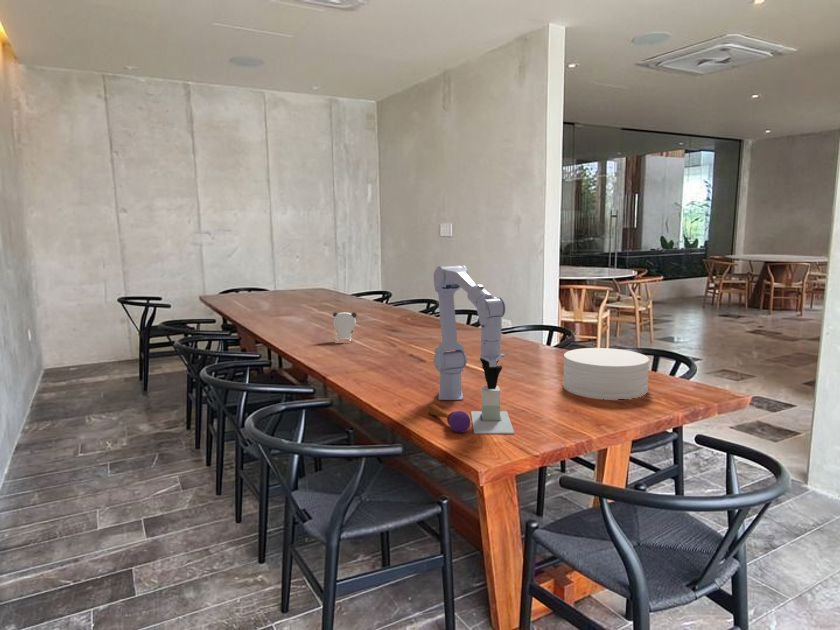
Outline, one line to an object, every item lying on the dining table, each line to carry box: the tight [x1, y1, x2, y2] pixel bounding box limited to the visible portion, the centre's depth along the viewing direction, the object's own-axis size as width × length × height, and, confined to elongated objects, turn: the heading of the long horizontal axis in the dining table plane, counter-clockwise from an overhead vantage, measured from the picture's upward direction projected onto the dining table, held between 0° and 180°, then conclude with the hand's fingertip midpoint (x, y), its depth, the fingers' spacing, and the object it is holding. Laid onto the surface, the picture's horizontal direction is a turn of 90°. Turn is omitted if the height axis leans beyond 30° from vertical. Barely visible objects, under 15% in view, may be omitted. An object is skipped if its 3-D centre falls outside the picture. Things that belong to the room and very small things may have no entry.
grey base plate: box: [470, 410, 515, 435], centre depth 162 cm, size 18×11×1 cm, turn 178°
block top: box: [481, 385, 501, 407], centre depth 164 cm, size 5×5×4 cm
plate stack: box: [562, 347, 650, 401], centre depth 194 cm, size 28×28×12 cm
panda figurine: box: [332, 311, 358, 341], centre depth 281 cm, size 12×11×15 cm
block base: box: [481, 403, 501, 421], centre depth 164 cm, size 5×5×4 cm
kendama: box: [426, 403, 471, 434], centre depth 161 cm, size 6×6×20 cm
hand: (490, 385), depth 163 cm, fingers open, 7 cm apart
